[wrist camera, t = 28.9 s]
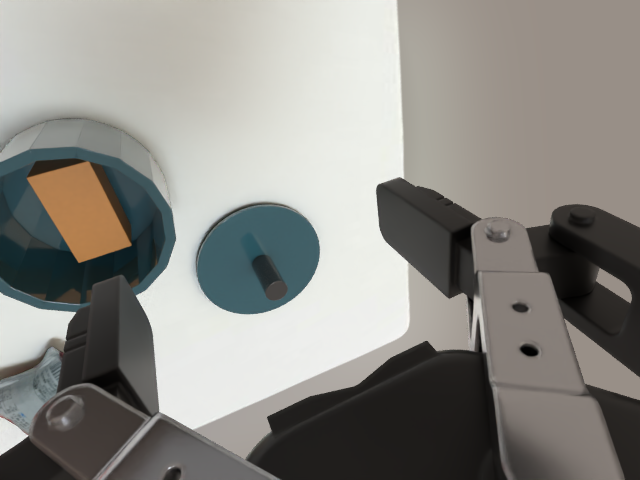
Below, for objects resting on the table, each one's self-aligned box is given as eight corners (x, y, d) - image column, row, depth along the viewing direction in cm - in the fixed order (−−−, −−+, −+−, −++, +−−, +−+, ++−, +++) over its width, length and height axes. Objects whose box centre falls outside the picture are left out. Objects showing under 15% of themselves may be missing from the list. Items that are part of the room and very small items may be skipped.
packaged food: (49, 434, 46) (43, 473, 42) (-29, 374, 39) (-45, 414, 35) (123, 395, 48) (123, 430, 44) (60, 332, 41) (54, 366, 37)
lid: (167, 274, 43) (173, 312, 37) (257, 176, 41) (276, 201, 36) (261, 325, 51) (276, 362, 46) (338, 245, 50) (363, 273, 45)
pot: (-44, 205, 32) (-88, 259, 26) (58, 82, 31) (40, 104, 24) (108, 279, 40) (105, 335, 34) (195, 183, 39) (209, 220, 32)
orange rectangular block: (35, 160, 33) (26, 177, 29) (92, 146, 34) (88, 160, 30) (82, 241, 37) (78, 263, 34) (131, 225, 38) (131, 245, 35)
